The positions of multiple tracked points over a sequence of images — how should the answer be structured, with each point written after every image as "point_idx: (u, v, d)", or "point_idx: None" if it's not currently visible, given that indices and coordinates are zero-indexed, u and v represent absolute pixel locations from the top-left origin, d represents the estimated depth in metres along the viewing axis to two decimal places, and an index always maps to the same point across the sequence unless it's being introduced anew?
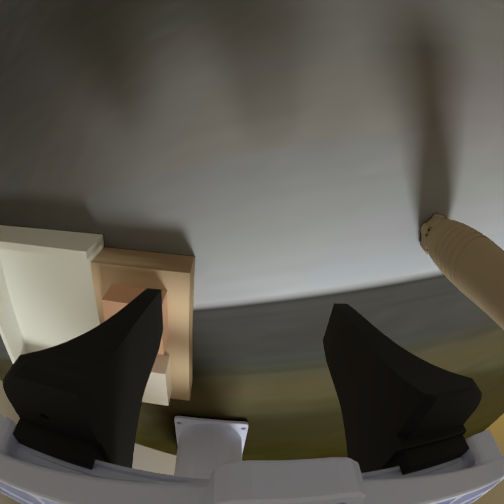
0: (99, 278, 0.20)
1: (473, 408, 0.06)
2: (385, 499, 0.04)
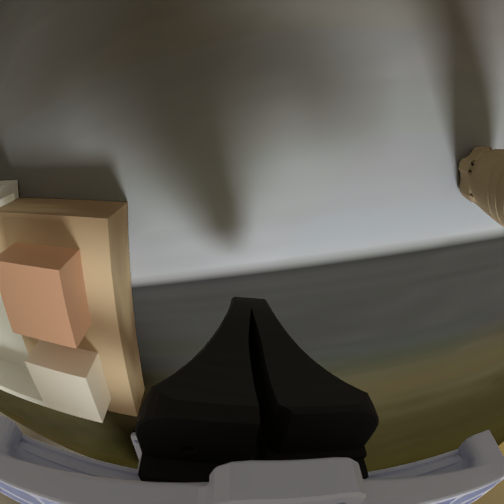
0: (1, 235, 0.12)
1: (369, 429, 0.06)
2: (385, 499, 0.04)
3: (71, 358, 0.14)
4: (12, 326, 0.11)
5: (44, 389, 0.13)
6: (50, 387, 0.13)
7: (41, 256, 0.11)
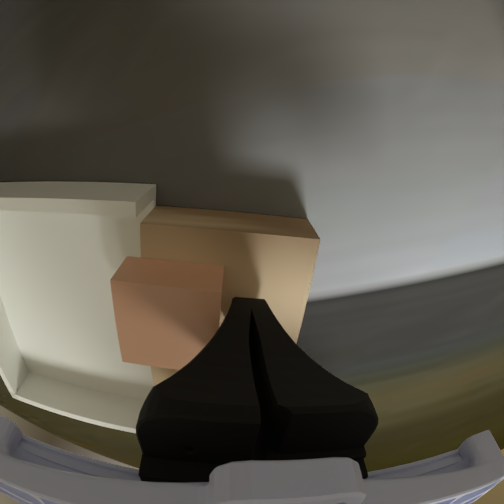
0: (154, 253, 0.12)
1: (369, 429, 0.06)
2: (385, 499, 0.04)
3: None
4: (123, 355, 0.12)
5: None
6: None
7: (182, 275, 0.11)
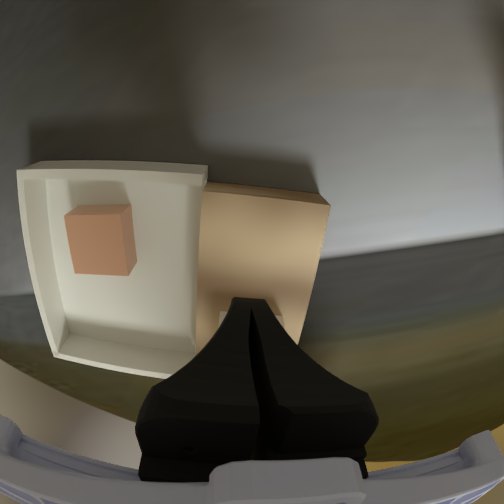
0: (211, 213, 0.17)
1: (369, 429, 0.06)
2: (385, 499, 0.04)
3: None
4: None
5: None
6: None
7: (90, 209, 0.18)
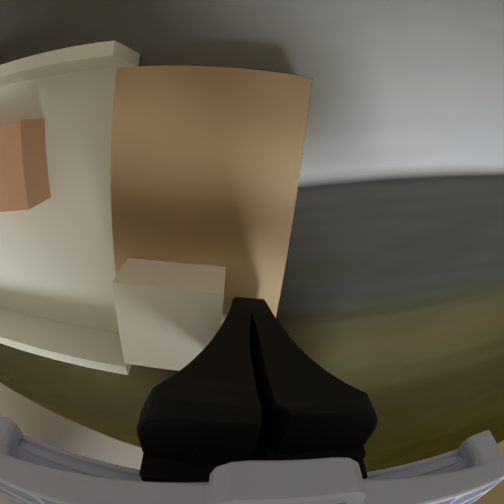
0: (127, 97, 0.09)
1: (368, 430, 0.06)
2: (385, 499, 0.04)
3: (189, 274, 0.11)
4: (48, 190, 0.13)
5: (133, 330, 0.11)
6: (147, 324, 0.11)
7: None
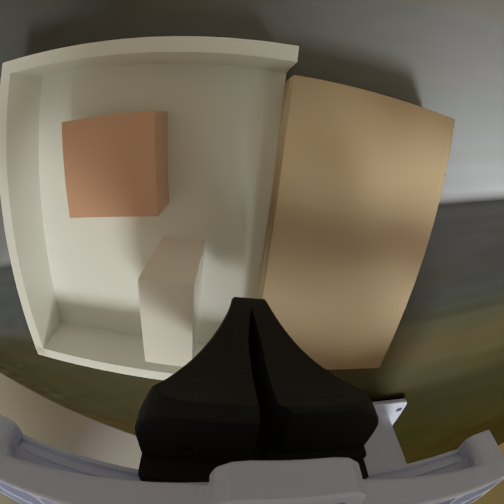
0: (306, 108, 0.10)
1: (369, 429, 0.06)
2: (385, 499, 0.04)
3: (175, 265, 0.12)
4: None
5: None
6: None
7: None
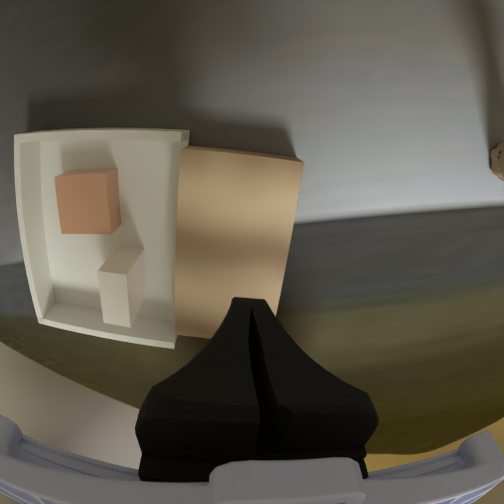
0: (189, 169, 0.17)
1: (369, 430, 0.06)
2: (385, 499, 0.04)
3: (120, 263, 0.19)
4: (119, 219, 0.20)
5: None
6: None
7: (80, 172, 0.18)
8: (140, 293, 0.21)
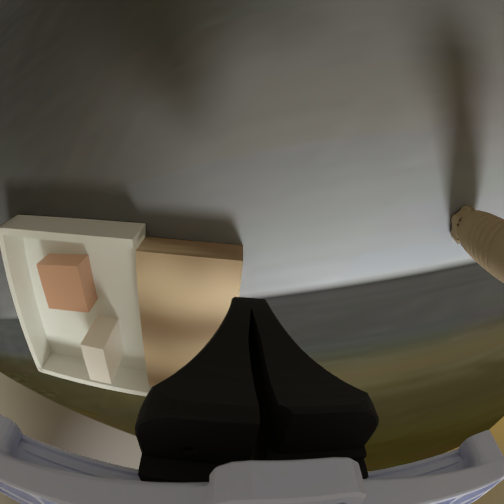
0: (144, 268, 0.20)
1: (370, 429, 0.06)
2: (385, 499, 0.04)
3: (98, 336, 0.21)
4: (95, 294, 0.23)
5: None
6: None
7: (57, 258, 0.21)
8: (118, 353, 0.24)
